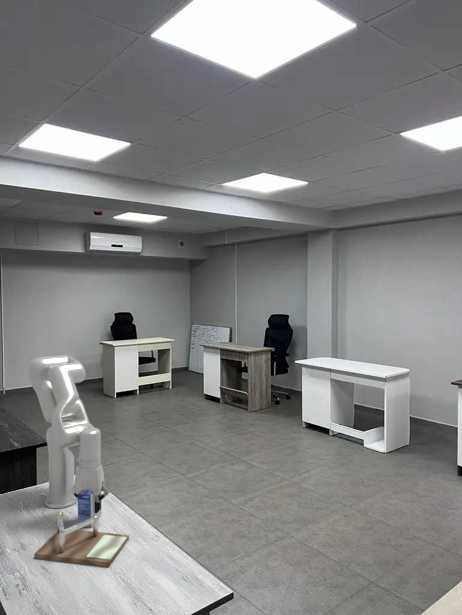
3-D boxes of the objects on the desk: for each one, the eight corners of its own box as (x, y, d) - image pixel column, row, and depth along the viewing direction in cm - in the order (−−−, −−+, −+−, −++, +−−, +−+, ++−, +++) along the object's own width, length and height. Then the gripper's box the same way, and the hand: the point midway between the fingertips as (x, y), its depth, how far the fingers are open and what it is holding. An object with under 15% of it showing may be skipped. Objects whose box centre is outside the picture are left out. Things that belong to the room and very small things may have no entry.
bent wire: (37, 550, 147) (37, 529, 147) (58, 530, 160) (58, 510, 160) (81, 555, 145) (81, 534, 144) (99, 534, 157) (99, 514, 157)
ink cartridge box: (88, 513, 175) (88, 476, 174) (102, 514, 174) (102, 477, 174) (76, 526, 165) (77, 487, 165) (91, 528, 165) (91, 488, 164)
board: (34, 558, 146) (34, 552, 146) (61, 532, 161) (61, 526, 161) (109, 567, 142) (109, 561, 142) (128, 539, 157) (128, 534, 157)
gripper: (63, 464, 167) (62, 513, 167) (107, 468, 164) (107, 518, 165) (73, 457, 174) (73, 504, 175) (116, 460, 171) (115, 508, 172)
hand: (89, 510), depth 170 cm, fingers closed on ink cartridge box, 5 cm apart
